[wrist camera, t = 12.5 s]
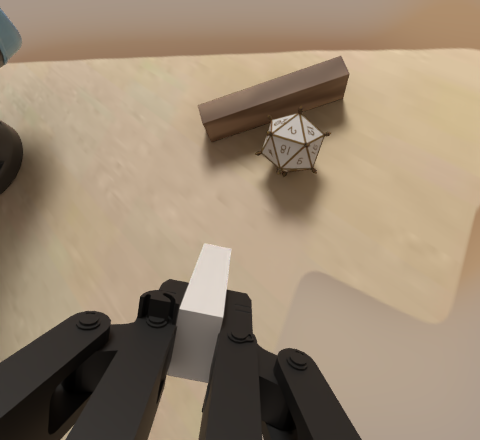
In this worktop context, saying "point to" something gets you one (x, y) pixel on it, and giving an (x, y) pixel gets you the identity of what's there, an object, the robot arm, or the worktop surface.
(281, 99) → the rail
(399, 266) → the worktop surface
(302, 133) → the game die
